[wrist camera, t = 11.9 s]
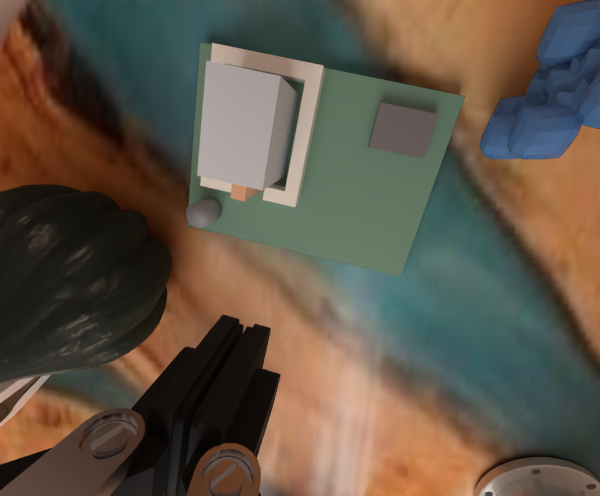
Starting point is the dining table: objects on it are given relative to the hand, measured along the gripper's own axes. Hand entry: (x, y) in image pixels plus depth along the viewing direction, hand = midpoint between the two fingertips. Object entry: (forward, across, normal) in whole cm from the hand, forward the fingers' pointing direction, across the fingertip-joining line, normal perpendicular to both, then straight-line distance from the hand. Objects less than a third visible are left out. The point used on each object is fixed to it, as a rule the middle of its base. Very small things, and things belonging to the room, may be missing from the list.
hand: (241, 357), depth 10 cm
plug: (+16, +5, -7) cm, 18 cm away
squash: (+17, +18, +7) cm, 26 cm away
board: (+17, +1, -5) cm, 18 cm away
